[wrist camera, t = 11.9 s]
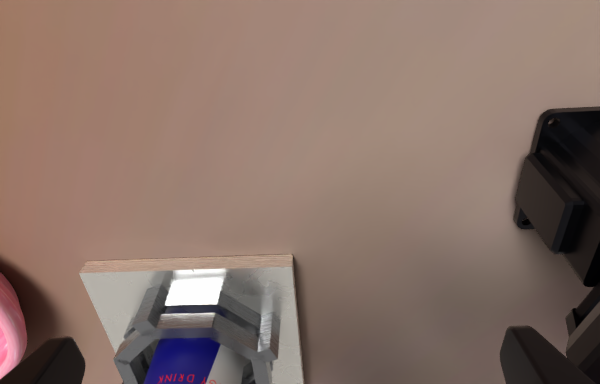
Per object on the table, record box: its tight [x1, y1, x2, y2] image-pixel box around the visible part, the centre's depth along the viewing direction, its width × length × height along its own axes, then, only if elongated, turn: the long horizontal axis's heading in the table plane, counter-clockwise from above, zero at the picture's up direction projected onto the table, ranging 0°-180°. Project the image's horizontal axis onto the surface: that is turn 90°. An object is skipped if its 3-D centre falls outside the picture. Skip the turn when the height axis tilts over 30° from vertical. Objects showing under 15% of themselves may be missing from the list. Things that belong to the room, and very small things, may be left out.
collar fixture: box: [79, 254, 304, 384], centre depth 27 cm, size 12×12×4 cm
